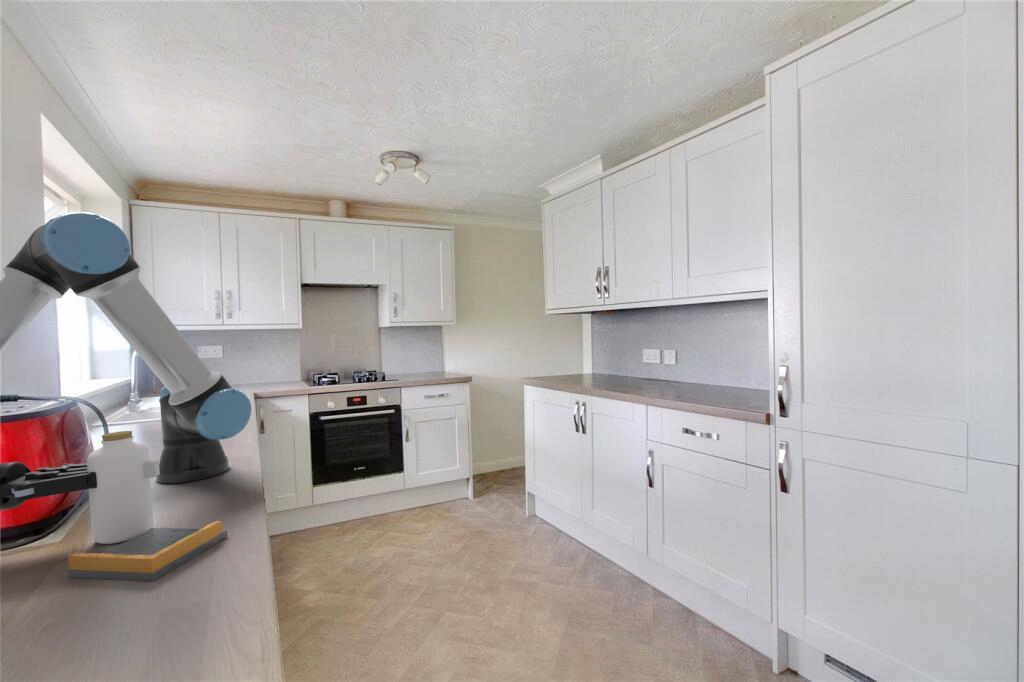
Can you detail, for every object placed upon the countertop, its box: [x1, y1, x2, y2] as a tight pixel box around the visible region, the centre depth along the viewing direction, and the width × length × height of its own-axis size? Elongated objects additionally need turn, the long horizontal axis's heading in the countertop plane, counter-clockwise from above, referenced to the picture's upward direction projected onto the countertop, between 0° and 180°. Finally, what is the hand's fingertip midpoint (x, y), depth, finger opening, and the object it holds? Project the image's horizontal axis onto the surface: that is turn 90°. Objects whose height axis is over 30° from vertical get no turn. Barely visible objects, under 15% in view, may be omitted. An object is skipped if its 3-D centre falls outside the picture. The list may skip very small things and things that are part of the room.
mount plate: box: [67, 520, 228, 582], centre depth 74 cm, size 14×14×3 cm
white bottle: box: [86, 430, 154, 545], centre depth 82 cm, size 8×8×18 cm
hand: (157, 468), depth 83 cm, fingers closed
